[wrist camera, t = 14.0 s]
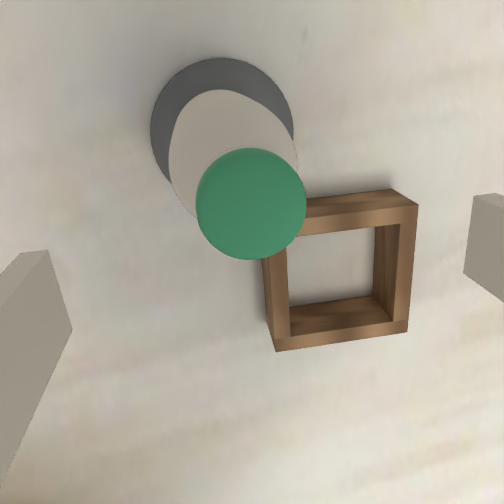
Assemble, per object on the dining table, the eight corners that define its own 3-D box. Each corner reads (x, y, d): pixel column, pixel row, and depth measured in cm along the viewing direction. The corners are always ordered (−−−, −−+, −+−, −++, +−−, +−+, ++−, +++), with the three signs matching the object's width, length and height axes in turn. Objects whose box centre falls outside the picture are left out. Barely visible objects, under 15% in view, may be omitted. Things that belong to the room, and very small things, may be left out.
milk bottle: (155, 144, 34) (115, 228, 16) (212, 67, 32) (241, 61, 14) (227, 200, 37) (262, 325, 19) (284, 131, 35) (384, 195, 17)
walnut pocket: (266, 322, 44) (275, 352, 39) (257, 205, 38) (266, 223, 34) (385, 305, 45) (407, 332, 40) (392, 188, 39) (418, 204, 35)
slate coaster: (164, 211, 37) (163, 213, 37) (138, 65, 32) (137, 65, 32) (294, 195, 38) (295, 197, 38) (288, 52, 33) (290, 51, 33)
